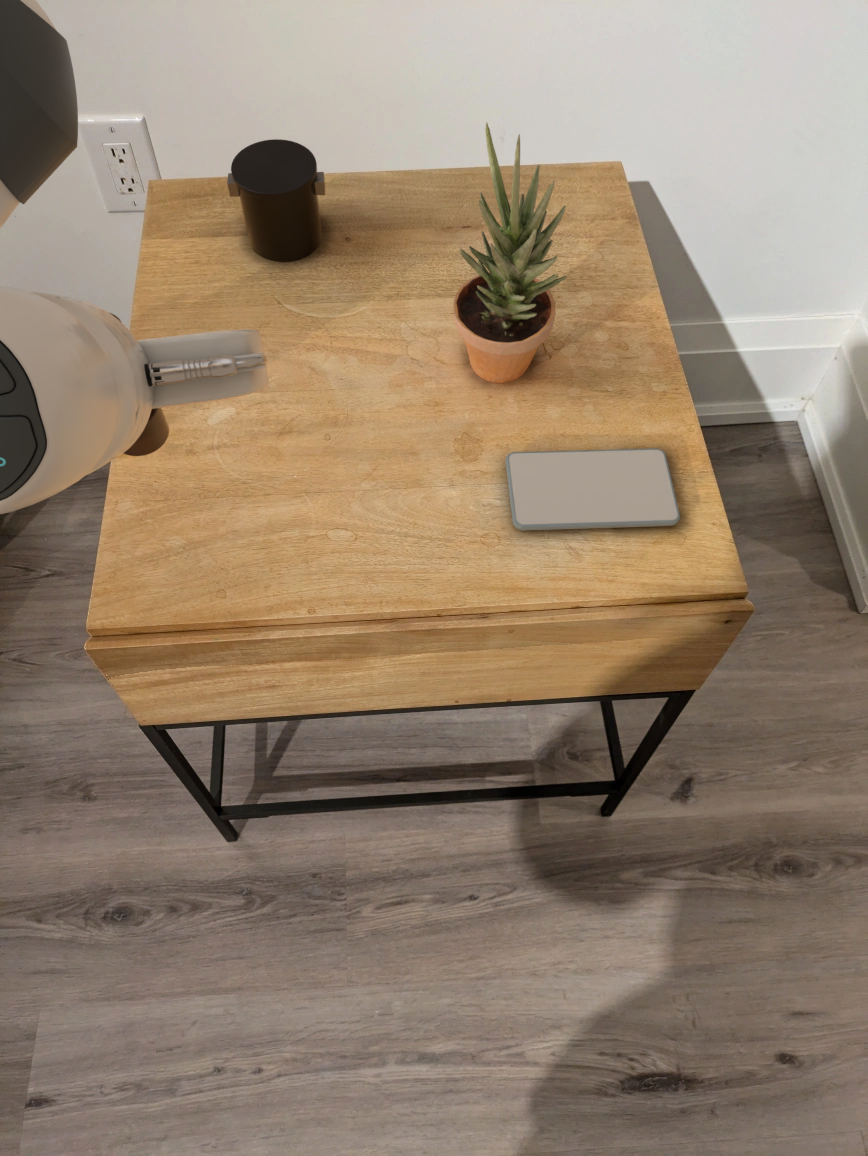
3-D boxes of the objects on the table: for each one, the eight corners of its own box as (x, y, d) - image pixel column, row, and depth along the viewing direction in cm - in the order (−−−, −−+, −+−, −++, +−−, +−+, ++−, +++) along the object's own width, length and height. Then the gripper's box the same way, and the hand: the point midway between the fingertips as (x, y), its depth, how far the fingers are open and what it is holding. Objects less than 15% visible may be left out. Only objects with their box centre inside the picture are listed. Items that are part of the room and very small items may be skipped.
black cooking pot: (238, 265, 91) (221, 194, 83) (243, 211, 95) (228, 139, 87) (329, 263, 91) (321, 192, 83) (330, 210, 95) (323, 138, 88)
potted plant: (440, 335, 86) (447, 98, 65) (528, 318, 87) (564, 81, 66) (467, 409, 82) (485, 181, 60) (560, 390, 83) (610, 160, 61)
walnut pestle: (108, 457, 59) (55, 355, 50) (116, 412, 61) (66, 307, 52) (166, 456, 59) (123, 354, 51) (172, 411, 61) (131, 306, 53)
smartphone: (682, 522, 75) (514, 527, 74) (679, 528, 75) (512, 533, 75) (664, 446, 79) (504, 450, 78) (662, 453, 79) (503, 457, 79)
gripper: (253, 297, 43) (266, 307, 56) (-173, 346, 41) (-55, 344, 54) (274, 422, 45) (282, 403, 58) (-133, 475, 43) (-29, 442, 56)
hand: (117, 375), depth 56 cm, fingers closed on walnut pestle, 3 cm apart
